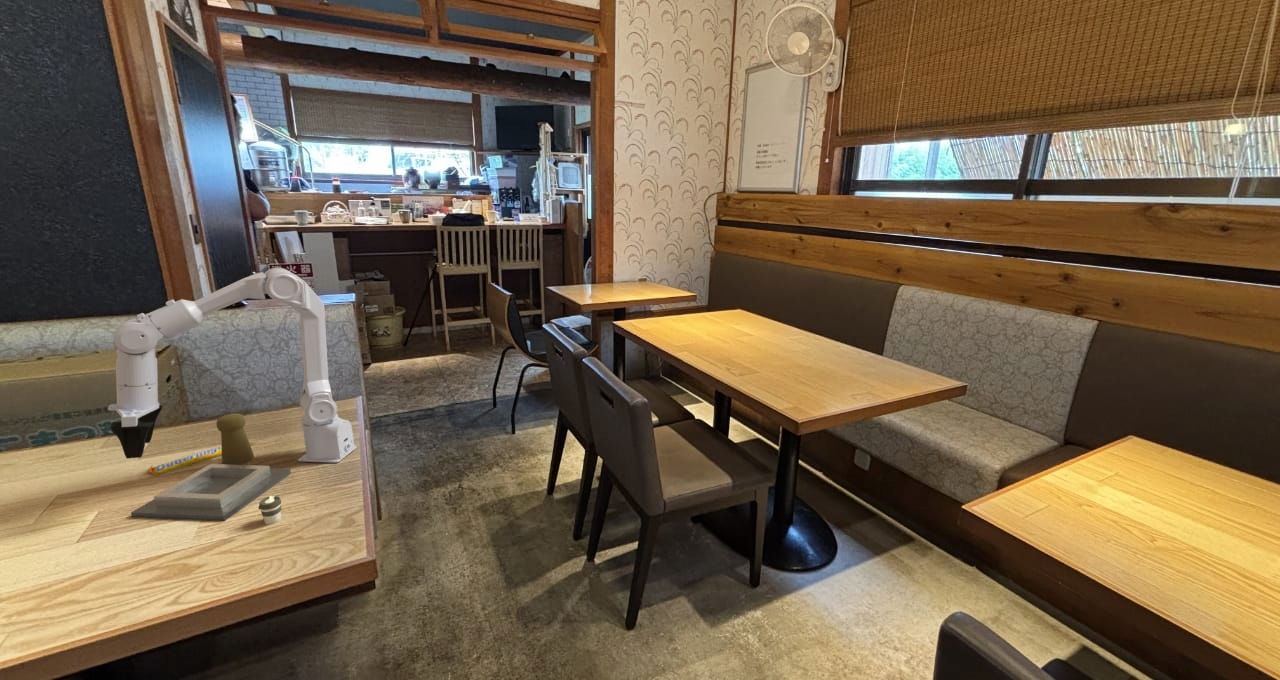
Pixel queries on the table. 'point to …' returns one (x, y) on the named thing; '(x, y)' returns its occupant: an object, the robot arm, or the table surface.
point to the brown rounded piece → (234, 440)
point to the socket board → (212, 493)
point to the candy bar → (186, 461)
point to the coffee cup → (271, 509)
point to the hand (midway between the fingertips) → (138, 449)
